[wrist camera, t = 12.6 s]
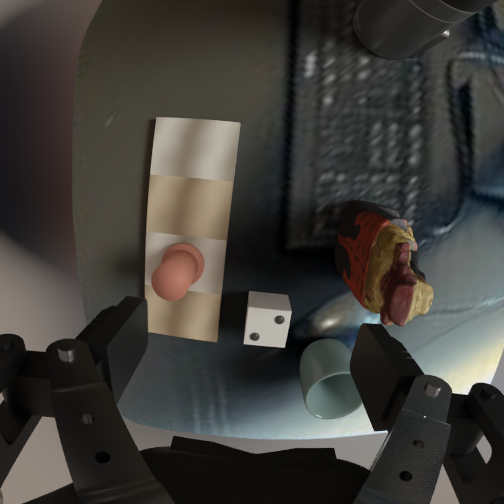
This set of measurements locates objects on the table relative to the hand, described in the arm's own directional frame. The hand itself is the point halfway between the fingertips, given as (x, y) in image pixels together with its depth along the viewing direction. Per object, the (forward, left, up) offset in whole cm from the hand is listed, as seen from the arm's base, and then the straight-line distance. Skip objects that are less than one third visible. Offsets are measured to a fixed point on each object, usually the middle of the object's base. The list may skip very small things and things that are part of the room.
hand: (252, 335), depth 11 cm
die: (-3, +12, -28) cm, 31 cm away
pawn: (+8, +7, -27) cm, 29 cm away
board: (+8, +3, -28) cm, 29 cm away
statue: (-14, 0, -28) cm, 32 cm away
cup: (-12, +18, -28) cm, 36 cm away
